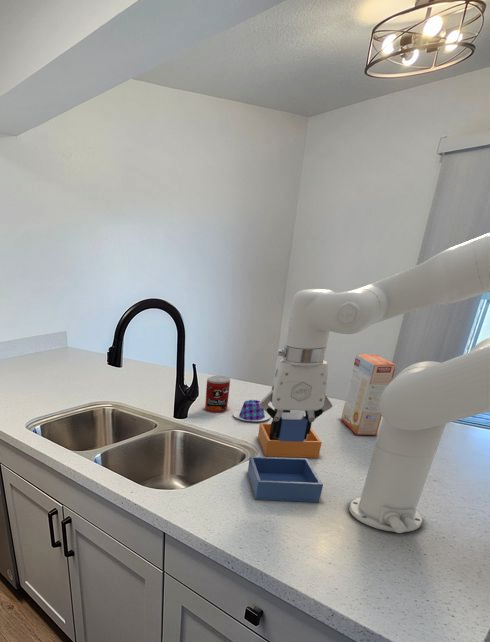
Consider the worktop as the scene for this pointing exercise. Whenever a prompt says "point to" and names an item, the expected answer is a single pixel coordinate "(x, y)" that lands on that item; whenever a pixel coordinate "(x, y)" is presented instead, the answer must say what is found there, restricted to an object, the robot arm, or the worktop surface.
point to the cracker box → (366, 393)
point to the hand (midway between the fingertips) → (289, 435)
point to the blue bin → (284, 479)
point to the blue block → (292, 427)
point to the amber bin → (288, 445)
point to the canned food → (217, 393)
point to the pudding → (251, 412)
